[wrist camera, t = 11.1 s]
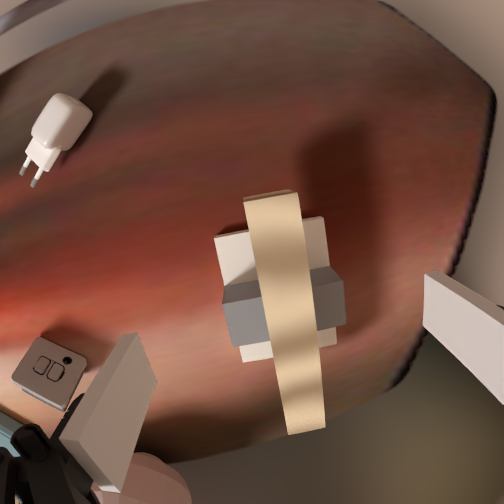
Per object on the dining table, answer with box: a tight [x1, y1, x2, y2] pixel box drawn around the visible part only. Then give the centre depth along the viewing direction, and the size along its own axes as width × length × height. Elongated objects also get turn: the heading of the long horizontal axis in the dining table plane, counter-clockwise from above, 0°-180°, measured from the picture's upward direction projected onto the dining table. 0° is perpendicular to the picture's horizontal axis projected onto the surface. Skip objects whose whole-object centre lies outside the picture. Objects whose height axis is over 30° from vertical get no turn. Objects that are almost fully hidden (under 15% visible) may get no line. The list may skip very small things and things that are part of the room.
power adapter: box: [19, 93, 93, 187], centre depth 28 cm, size 11×5×6 cm, turn 139°
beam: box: [243, 189, 325, 435], centre depth 28 cm, size 24×4×5 cm, turn 11°
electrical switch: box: [12, 337, 87, 412], centre depth 34 cm, size 9×5×9 cm, turn 72°
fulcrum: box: [214, 216, 347, 362], centre depth 33 cm, size 16×12×6 cm
